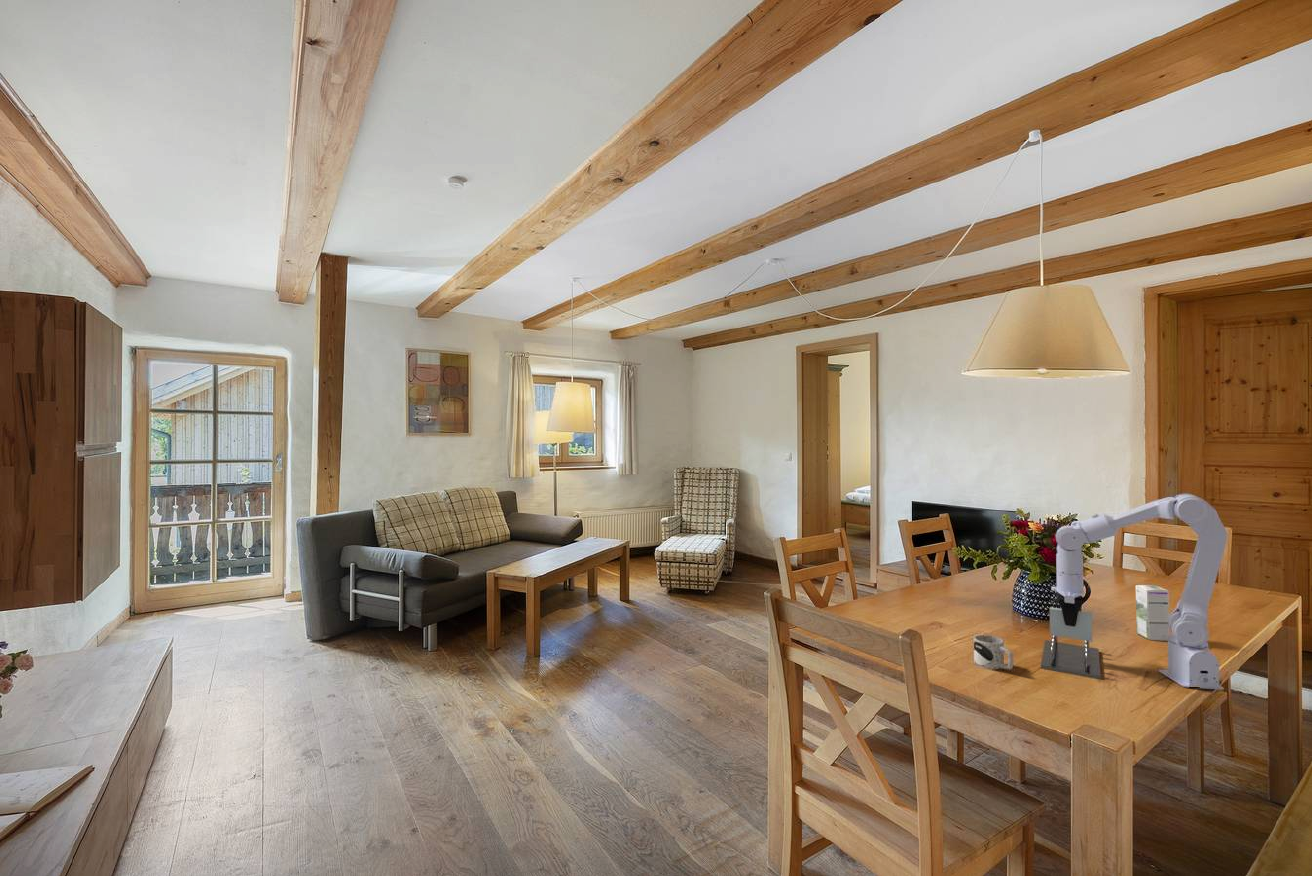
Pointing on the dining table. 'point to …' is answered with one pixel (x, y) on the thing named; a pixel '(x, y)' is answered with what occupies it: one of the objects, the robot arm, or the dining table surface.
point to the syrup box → (1152, 612)
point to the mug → (991, 652)
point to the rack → (1071, 658)
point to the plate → (1078, 632)
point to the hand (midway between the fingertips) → (1070, 624)
